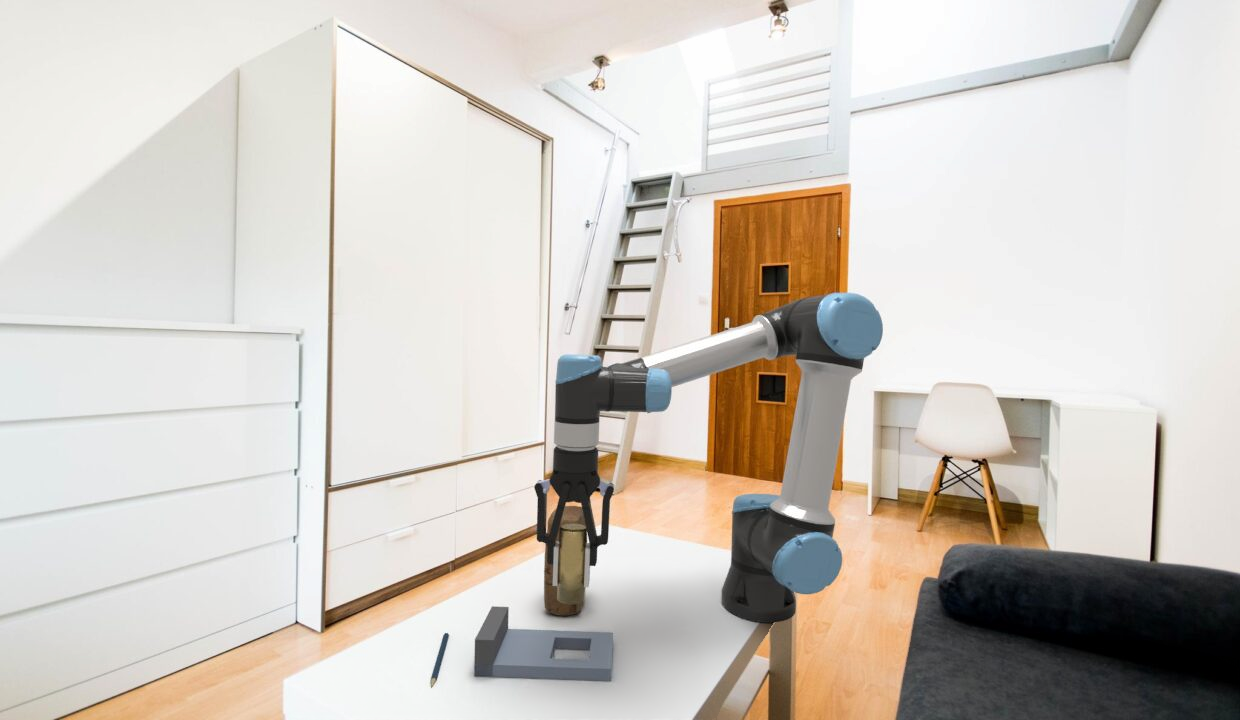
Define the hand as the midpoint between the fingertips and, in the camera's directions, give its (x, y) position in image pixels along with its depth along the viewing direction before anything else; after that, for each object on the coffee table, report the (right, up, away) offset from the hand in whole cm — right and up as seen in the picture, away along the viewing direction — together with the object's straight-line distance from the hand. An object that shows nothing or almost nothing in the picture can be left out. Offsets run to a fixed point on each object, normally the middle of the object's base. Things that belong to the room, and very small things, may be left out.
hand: (571, 582), depth 92 cm
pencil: (-22, -13, -1) cm, 26 cm away
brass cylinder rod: (0, -3, 0) cm, 3 cm away
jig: (-4, -13, +1) cm, 14 cm away
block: (-3, -13, +20) cm, 24 cm away
